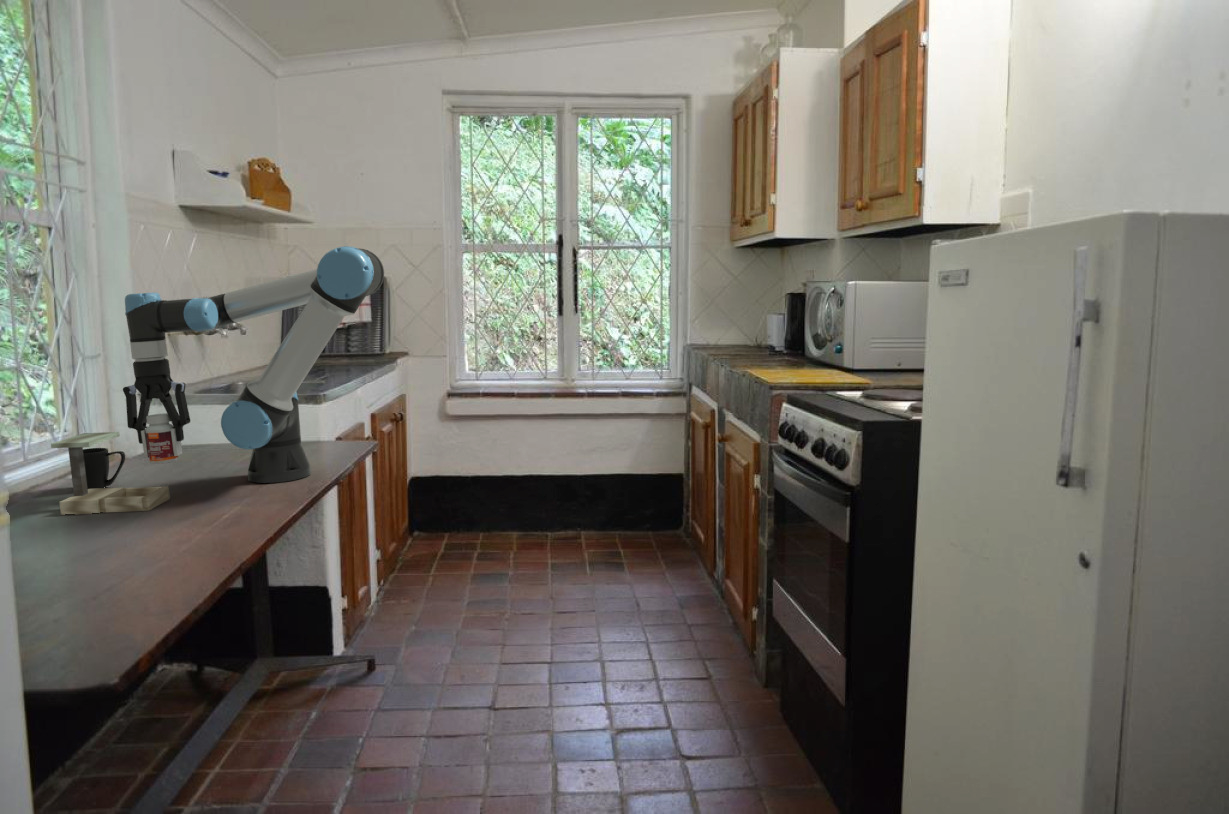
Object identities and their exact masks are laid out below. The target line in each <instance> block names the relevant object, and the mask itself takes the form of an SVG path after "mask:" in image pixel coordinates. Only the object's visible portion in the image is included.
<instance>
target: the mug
mask: <svg viewBox="0 0 1229 814" xmlns="http://www.w3.org/2000/svg"><path fill="white" fill-rule="evenodd" d="M114 454H119V455H120V462H119V465H118V467H117V470H116V471H115V473H114V475H113V476H112V477H111V478H110V479H108V478H109V472H110V456H112V455H114ZM83 455H84V464H85V472H86V480H87V488H88V489H96V488H104V487H106V488H107V487H109V486H111V485H112V484H113V483H114V482H115V480H116V478H117V477H118V475H119V473H120V471H121V470H122V468H123V465H124V463H125V461H126V453H125V452H124V451H121V450H117V451H112V452H109V449H108V448H106V447H91V448H90V447H88V448H83Z"/></svg>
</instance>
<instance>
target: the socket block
mask: <svg viewBox="0 0 1229 814" xmlns="http://www.w3.org/2000/svg"><path fill="white" fill-rule="evenodd" d="M119 437H120V431H109V432H106V431H103V432H84V433H83V432H82V433H80V434H76V435H74V436H70V437H67V438H65V439H62V440H58V441H55V442H52V443H50V448H51V449H66V448H68V456H69V458H68V459H69V466H70V472H71V473H70V474H71V480H72V488H73V489H72V490H73V491H72V492H73V495H71V496H70V497H68V498H67V497H66V498H64V499H63V500H60V501H59V509H60V515H61V516H66V515H65V514H75V515H93V514H92V513H99V514H100V512H103V513H121V512H122V513H123V512H125V513H126V512H127V513H128V512H146V511H151V510H152V509H155V508H156V507H158V506H160V505H162V504H163V503H165V502H167V501H169V500H170V499H171V497H170V489H169V486H168V485H167V486H146V487H145V486H143V487H106V488H96V489H88V488H87V480H86V472H85V464H84V455H83V449H84V448H90V447H92V446H93V447H94V446H96V445H98V444H101V443H104V442H107V441H111V440H113V439H115V438H119Z"/></svg>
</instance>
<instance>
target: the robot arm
mask: <svg viewBox="0 0 1229 814" xmlns="http://www.w3.org/2000/svg"><path fill="white" fill-rule="evenodd" d="M384 279H385V269H384V265H383V263H382V261H381V260H380V258H379V257H378V256H377V254H375V253H374V252H372V251H371V250H368V249H366V248H365V249H364V248H358V247H353V246H339V247H336V248H333V249H331V250H329V251H328V252H326V253H325V254H324V255H323V256H322V257H321V258H320V260H319V262H318V264H317V269H316V268H315V269H313V270H308V271H305V272H300V273H298V274H294V275H289V276H286V277H282V278H279V279H275V280H271V281H267V282H263V283H260V284H256V285H252V286H248V287H244V288H241V289H238V290H233V291H230V292H226V293H221V294H216V295H214V296H210V297H203V298H201V297H193V298H184V299H183V298H182V299H171V300H169V299H168V300H166V299H165V300H164V299H163V300H162V298H161V294H159V292H143V293H141V292H140V293H129V294H128V293H127V294H126V296H125V298H124V309H125V312H124V314H125V316H126V323H127V328H128V336H129V345H130V353H131V358H132V360H134V361H133V362H132V368H133V374H134V378H135V380H134V384H132V385H128V386H123V388H122V392H123V393H124V397H125V402H126V403H125V404H126V407H125V408H126V421H127V422H126V423H127V428H128V429H134V430H136V432H137V439H138V444H142V448H143V449H142V450H143V457H144V458H145V459H148V458H149V452H148V445H147V437H146V428H147V427H148V426H147V425H148V424H147V419H146V416H149V413H150V408H151V403H152V401H153V399H155V400H159V401H160V402H161V403H162V405H163V407H164V409H165V412H166V413H167V414H168V416H169V418H170V420H171V421H170V422H171V424H172V425H173V426H174V427H173V428H172V429H171V436H172V443H173V451H174V456H178V457H179V456H180V455H183V448H182V447H183V446H182V441H184V440H185V436H184V426H185V425H188V424H190V423H191V417H190V411H189V406H188V402H187V397H186V393H185V390H186V383H185V382H178V381H174V380H173V379H172V378H171V368H170V361H169V359H168V358H166V357H168V356H169V354H168V346H167V338H166V333H183V332H185V333H186V332H205V331H210V330H214V329H220V328H224V327H226V326H229V325H231V324H235V323H239V322H243V321H246V320H250V319H254V318H258V317H262V316H266V315H270V314H273V313H277V312H280V311H284V310H289V309H293V308H297V307H301V306H304V305H305V306H304V308H303V309H302V311H301V312H300V314H299V316H298V317H297V319H296V320H295V322H294V323H293V325H292V327H291V328H290V329H289V331H288V332H287V334H286V336H285V338H284V339H283V340H282V342H281V344H280V345H279V347H278V348H277V350H276V352H275V353H274V354H273V356H272V358H271V359H270V360H269V362H268V364H267V365H266V367H265V368H264V370H263V372H262V373H261V375H260V377H259V378H258V379H257V380H253V381H249V382H248V383H247V384H246V386H245V387H244V389H243V391H242V392H241V394H240V395H239V396H238V398H237V399H236V401H233V402H231V404H229V405H228V406H227V407H226V408H225V409H224V411H223V413H222V415H221V419H220V427H221V430H222V433H223V435H224V437H225V439H226V440H227V441H229V443H230V444H232V445H233V446H235V447H237V448H239V449H243V450H252V451H251V454H250V459H249V463H248V467H247V471H246V472H247V481H248V482H251V483H258V484H259V483H260V484H261V483H262V484H271V483H273V484H275V483H281V482H282V483H283V482H290V481H295V480H301V479H303V478H306V477H309V476H311V474H312V471H311V470H312V468H311V463H310V461H309V459H308V456H307V455H306V451H305V450H304V448H303V444H302V438H301V437H302V435H301V421H300V410H299V401H300V400H299V397H298V393H297V392H298V390H299V388H300V386H301V384H302V383H303V381H304V380H305V378H306V377H307V376H308V374H309V372H310V371H311V370H312V368H313V367H314V365H315V363H316V362H317V360H318V358H319V357H320V355H321V354H322V352H323V351H324V349H325V348H326V346H327V344H328V343H329V341H330V339H331V338H332V337H333V335H334V334H335V333H336V331H337V329H338V328H339V326H340V324H341V323H342V321H343V320H344V318H345V317H347V316H348V317H349V316H351V315H355V313H356V312H357V311H358V310H359V307H360V306H361V304H362V303H363V301H364V300H365V298H366V297H369V296H370V295H373V294H375V293H376V292H377V291H378V290H379V289H380V288H381V286H382V284H383V282H384ZM171 389H173V392H174V396H175V397H174V398H175V402H176V406H177V408H176V406H175V404H174V402H173V400H172V399H173V398H172V394H171V393H170V391H171ZM137 391H138V392H139V393H140V400H139V402H140V404H139V411H138V407H137V395H136V393H137Z"/></svg>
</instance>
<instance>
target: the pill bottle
mask: <svg viewBox="0 0 1229 814" xmlns="http://www.w3.org/2000/svg"><path fill="white" fill-rule="evenodd" d="M146 419H147V424H146V425H148V426H146V427H147V428H145V429H146V437H147V445H148V452H149V457H148V458H149V463H150V464H151V465H152V464H153V465H161V464H170V463H174V462H177V461H178V460H179V455H178V456H174V451H173V443H172V436H171V429H172V428H173V427H174V426H173V424H172V423H170V422H171V420H170V418H169V416H168V414H167V412H166V413H165V412H163V413H154V414H150V415H149V414H148V416H146Z"/></svg>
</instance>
